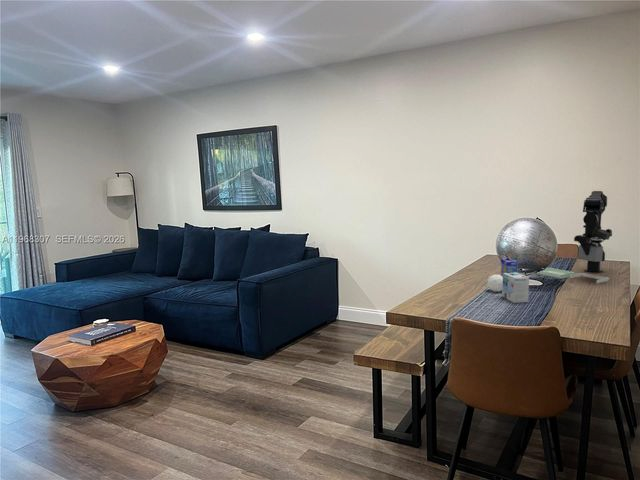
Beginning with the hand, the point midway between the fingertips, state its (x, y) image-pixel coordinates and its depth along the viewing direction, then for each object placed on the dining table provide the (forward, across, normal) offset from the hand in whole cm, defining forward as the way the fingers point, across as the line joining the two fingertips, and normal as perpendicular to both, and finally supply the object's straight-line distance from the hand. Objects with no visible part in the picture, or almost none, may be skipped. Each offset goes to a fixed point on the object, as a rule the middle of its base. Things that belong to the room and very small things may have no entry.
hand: (590, 254), depth 230 cm
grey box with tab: (+2, 0, 0) cm, 2 cm away
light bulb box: (+13, -60, -5) cm, 61 cm away
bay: (+12, 0, 0) cm, 13 cm away
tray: (+12, -4, +16) cm, 21 cm away
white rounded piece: (+13, -55, +7) cm, 57 cm away
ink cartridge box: (+13, -40, +15) cm, 45 cm away
